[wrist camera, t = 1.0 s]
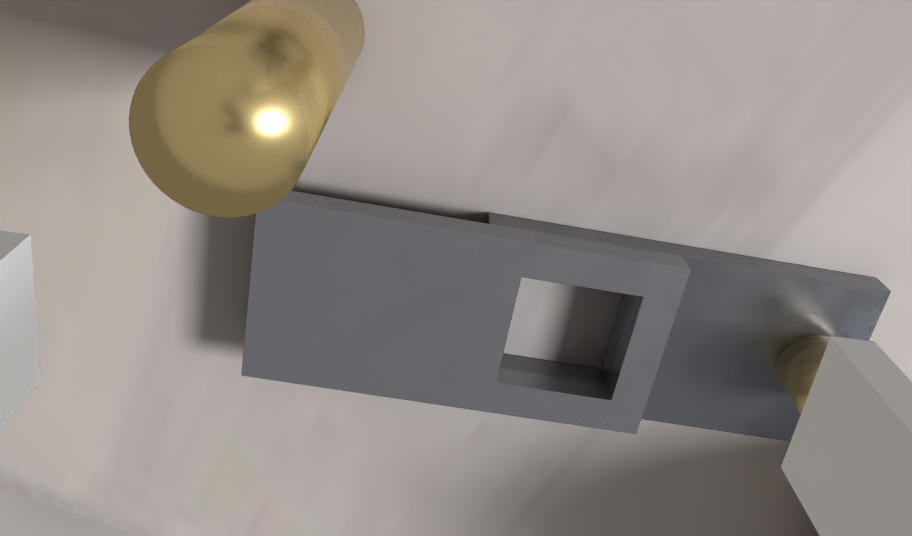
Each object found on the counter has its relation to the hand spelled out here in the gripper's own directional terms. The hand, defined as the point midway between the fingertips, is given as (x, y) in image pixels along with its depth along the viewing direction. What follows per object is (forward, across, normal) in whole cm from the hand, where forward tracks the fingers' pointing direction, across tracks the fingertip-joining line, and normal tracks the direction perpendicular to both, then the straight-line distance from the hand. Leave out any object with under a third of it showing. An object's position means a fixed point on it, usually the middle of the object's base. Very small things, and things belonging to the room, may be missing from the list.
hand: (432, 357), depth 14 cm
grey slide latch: (+20, +7, -9) cm, 23 cm away
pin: (+20, -5, +1) cm, 21 cm away
